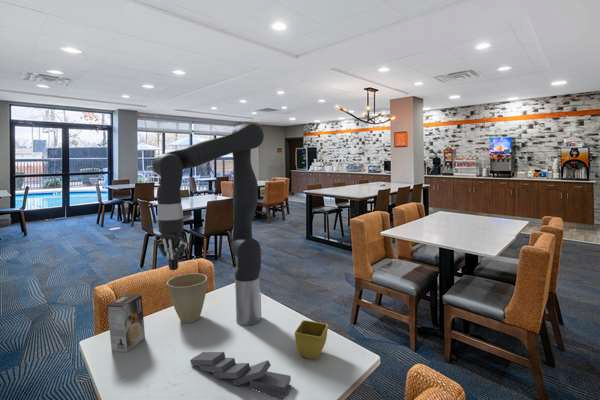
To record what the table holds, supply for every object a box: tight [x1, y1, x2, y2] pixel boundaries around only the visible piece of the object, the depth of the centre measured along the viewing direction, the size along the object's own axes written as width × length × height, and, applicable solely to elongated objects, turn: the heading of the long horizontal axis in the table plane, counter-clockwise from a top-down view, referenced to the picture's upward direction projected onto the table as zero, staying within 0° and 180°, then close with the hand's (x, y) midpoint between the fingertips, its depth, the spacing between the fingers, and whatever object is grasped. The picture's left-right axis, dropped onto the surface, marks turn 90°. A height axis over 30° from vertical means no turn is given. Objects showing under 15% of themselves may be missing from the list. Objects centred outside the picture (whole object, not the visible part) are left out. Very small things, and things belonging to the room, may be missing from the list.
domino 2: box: [198, 357, 236, 373], centre depth 99 cm, size 5×2×10 cm
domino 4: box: [232, 360, 272, 386], centre depth 93 cm, size 5×2×10 cm
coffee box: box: [106, 293, 146, 353], centre depth 113 cm, size 9×6×16 cm
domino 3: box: [212, 362, 251, 379], centre depth 95 cm, size 5×2×10 cm
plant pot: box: [166, 273, 208, 323], centre depth 132 cm, size 15×15×16 cm
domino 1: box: [189, 351, 226, 366], centre depth 101 cm, size 5×2×10 cm
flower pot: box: [294, 319, 329, 361], centre depth 107 cm, size 9×9×9 cm
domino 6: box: [250, 384, 293, 400], centre depth 91 cm, size 5×2×10 cm
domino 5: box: [249, 370, 291, 393], centre depth 92 cm, size 5×2×10 cm
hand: (173, 269), depth 109 cm, fingers closed
